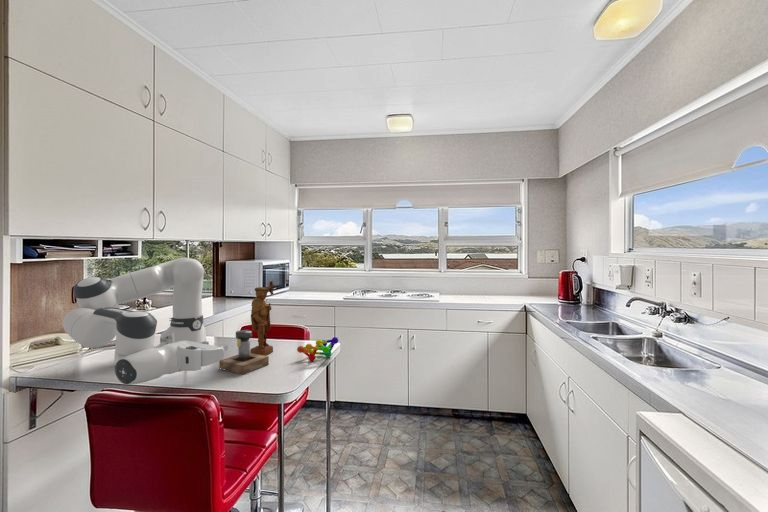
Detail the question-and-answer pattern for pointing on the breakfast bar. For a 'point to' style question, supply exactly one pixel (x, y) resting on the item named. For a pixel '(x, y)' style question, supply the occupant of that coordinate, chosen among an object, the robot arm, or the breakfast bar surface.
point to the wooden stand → (244, 363)
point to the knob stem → (243, 344)
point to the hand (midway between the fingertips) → (216, 345)
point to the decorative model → (318, 348)
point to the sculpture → (261, 319)
